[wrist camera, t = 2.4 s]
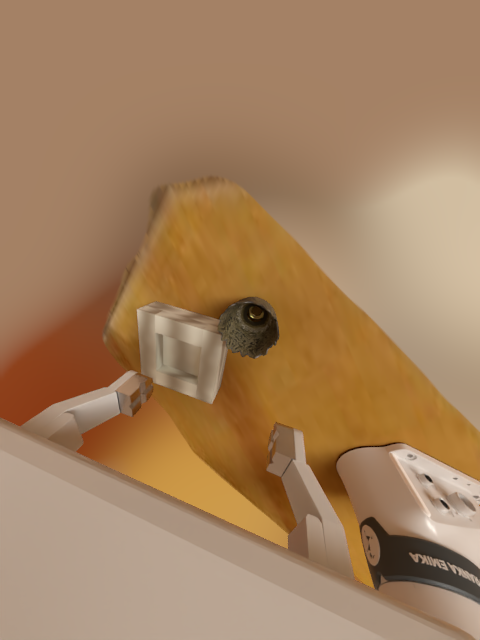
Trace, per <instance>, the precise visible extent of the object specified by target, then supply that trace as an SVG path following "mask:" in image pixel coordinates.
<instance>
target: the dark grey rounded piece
mask: <svg viewBox="0 0 480 640" xmlns="http://www.w3.org/2000/svg"><path fill="white" fill-rule="evenodd" d="M255 306H257V307H259V308H261V309H262V313H261V314H260V315H259V316H256V315H254V314H253V313H252V308H253V307H255ZM219 320H220V322H219V324H218V329H217V330H218V332H219V333H221V334H222V336H221V341H226V347H227V348H228V349H231V350H232V353H236V352H239V351H240V353H241V356H242V357H244V356H245V355H249V357H251V358H254V359H255V358H257V357H259V356H261V355H263V356H264V355H266V354H267V351H268V349H269V348H271V347H272V345H274V346H275V345H276V343H277V340H278V339H279V328H278V322H277V317H276V314H275V311H274V309H273V308H272V306H271V305H270V304H269V303H268V302H267V301H265V300H263V299H261V298H258V297H248V298H244V299H242V300H239V301H238V302H236V303H234V304H232V305H230V306H229V307H228V308H227V309H226V311H225V312H224V313H223V314H222V315H221V316H220V318H219Z"/></svg>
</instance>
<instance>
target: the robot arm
mask: <svg viewBox="0 0 480 640" xmlns="http://www.w3.org/2000/svg"><path fill="white" fill-rule="evenodd" d="M152 382H153V378H151V377H148V376H146V375H143V374H140V373H138V372H135V371H132V370H130V371H128V372H127V373H125V374H124V375H123V376H121V377H120V378H119V379H118V380H116V381H115V382H114V383H113V384H111V385H110V386H109V387H107V388H106V387H104V388H101V389H98V390H95V391H92V392H89V393H86V394H83V395H80V396H77V397H74V398H71V399H68V400H65V401H62V402H60V403H56V404H53V405H51V406H50V407H48V408H47V409H45V410H44V411H43V412H41V413H40V414H38V415H37V416H35V417H34V418H32V419H31V420H29V421H28V422H26V423H25V424H23V425H22V426H20V427H19V426H17V425H15V424H13V423H10V422H8V421H6V420H4V419H2V418H0V640H480V507H479V504H480V482H479V481H477V480H475V479H473V478H471V477H469V476H467V475H466V474H464V473H462V472H460V471H458V470H456V469H454V468H452V467H450V466H448V465H446V464H444V463H442V462H440V461H438V460H436V459H434V458H432V457H430V456H428V455H426V454H424V453H422V452H420V451H418V450H416V449H414V448H412V447H410V446H408V445H406V444H402V443H399V444H393V445H389V446H385V447H366V448H359V449H355V450H352V451H349V452H347V453H345V454H344V455H342V456H341V457H340V458H339V460H338V461H337V465H336V468H337V472H338V474H339V476H340V477H341V479H342V482H343V484H344V486H345V488H346V491H347V493H348V495H349V498H350V501H351V503H352V506H353V509H354V511H355V514H356V517H357V520H358V523H359V526H360V533H361V539H362V543H363V548H364V552H365V556H366V559H367V563H368V567H369V570H370V574H371V577H372V581H373V584H374V587H375V589H373V588H371V587H369V586H367V585H365V584H363V583H360V582H358V581H356V580H355V579H354V574H353V569H352V565H351V560H350V555H349V550H348V546H347V541H346V536H345V532H344V527H343V526H342V524H341V522H340V520H339V518H338V517H337V515H336V513H335V511H334V509H333V508H332V506H331V504H330V502H329V501H328V499H327V497H326V495H325V493H324V492H323V490H322V488H321V486H320V484H319V483H318V481H317V479H316V477H315V475H314V474H313V472H312V470H311V468H310V466H309V465H307V464H306V458H305V448H304V439H303V433H302V431H300V430H297V429H294V428H292V427H289V426H286V425H283V424H280V423H277V422H276V423H275V424H274V430H272V431H271V433H270V437H269V442H268V449H269V454H268V456H267V467H266V471H268V472H271V473H273V474H275V475H278V476H280V477H282V478H281V479H282V482H283V484H284V487H285V490H286V493H287V496H288V499H289V501H290V504H291V507H292V510H293V513H294V516H295V518H296V521H297V524H298V525H297V527H296V528H295V529H294V530H293V531H292V532H291V533H290V534H289V535H288V549H286V548H284V547H282V546H280V545H277V544H275V543H273V542H271V541H268V540H266V539H264V538H262V537H260V536H258V535H255V534H253V533H251V532H249V531H247V530H245V529H242V528H240V527H238V526H236V525H234V524H231V523H229V522H227V521H225V520H223V519H221V518H218V517H216V516H214V515H212V514H210V513H207V512H205V511H203V510H201V509H199V508H197V507H194V506H192V505H190V504H188V503H185V502H183V501H181V500H179V499H177V498H175V497H172V496H170V495H168V494H166V493H164V492H162V491H159V490H157V489H155V488H153V487H151V486H148V485H146V484H144V483H142V482H140V481H137V480H135V479H133V478H131V477H129V476H127V475H124V474H122V473H120V472H118V471H115V470H113V469H111V468H109V467H107V466H105V465H102V464H100V463H98V462H96V461H94V460H92V459H89V458H87V457H85V456H83V455H81V454H78V453H76V451H77V450H78V449H79V448H80V447H81V446H82V444H83V439H82V436H81V434H83V433H84V432H86V431H88V430H90V429H92V428H94V427H95V426H97V425H99V424H101V423H103V422H105V421H107V420H108V419H110V418H112V417H114V416H116V415H118V414H120V413H123V414H126V415H129V416H131V417H133V416H134V415H135V414H136V413H137V411H138V410H139V409H140V408H141V404H142V403H144V402H146V401H147V400H148V399H149V398H150V396H151V395H152V393H153V386H152V384H151V383H152Z"/></svg>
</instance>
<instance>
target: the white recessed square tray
mask: <svg viewBox="0 0 480 640" xmlns="http://www.w3.org/2000/svg"><path fill="white" fill-rule="evenodd" d="M137 318H138V332H139V346H140V359H141V373H142V374H143V375H146V376H148V377H151V378H153V382H154V383H156V384H159V385H162V386H164V387H167V388H170V389H172V390H175V391H178V392H180V393H183V394H186V395H188V396H191V397H194V398H196V399H199V400H202V401H204V402H207V403H210V404H212V403H213V401H214V398H215V396H216V394H217V392H218V390H219V388H220V386H221V381H222V376H223V371H224V365H225V360H226V355H227V350H228V348H227V347H226V341H221V336H222V334H221V333H219V332H218V330H217V329H218V324H219V322H220V320H219V319H215V318H212V317H208V316H205V315H201V314H198V313H195V312H191V311H188V310H184V309H181V308H177V307H174V306H171V305H167V304H164V303H160V302H157V301H156V302H154V303H151V304H149V305H146V306H144V307H141V308H138V309H137Z"/></svg>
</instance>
